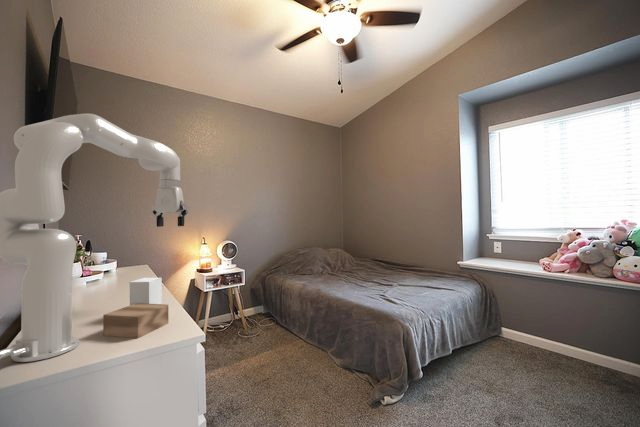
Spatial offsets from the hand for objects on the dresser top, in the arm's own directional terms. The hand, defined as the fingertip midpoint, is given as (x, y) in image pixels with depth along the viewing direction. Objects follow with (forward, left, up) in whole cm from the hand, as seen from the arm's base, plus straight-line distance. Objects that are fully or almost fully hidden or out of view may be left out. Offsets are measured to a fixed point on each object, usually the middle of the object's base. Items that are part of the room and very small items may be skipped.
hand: (170, 226), depth 119 cm
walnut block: (-28, -11, -31) cm, 43 cm away
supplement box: (-16, -3, -31) cm, 35 cm away
